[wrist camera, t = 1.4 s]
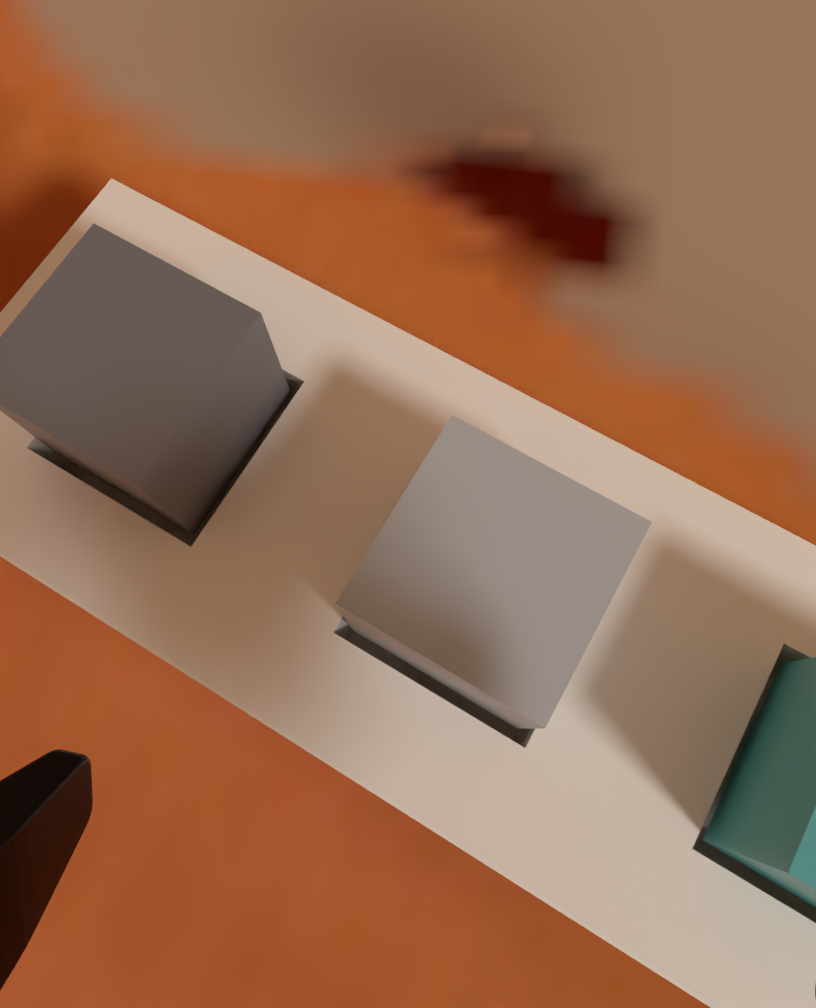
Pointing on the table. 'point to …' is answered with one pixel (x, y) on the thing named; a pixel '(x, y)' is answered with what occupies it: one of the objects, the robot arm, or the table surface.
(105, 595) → the keypad
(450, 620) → the slate key
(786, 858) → the teal key
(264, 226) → the table surface
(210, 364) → the charcoal key
